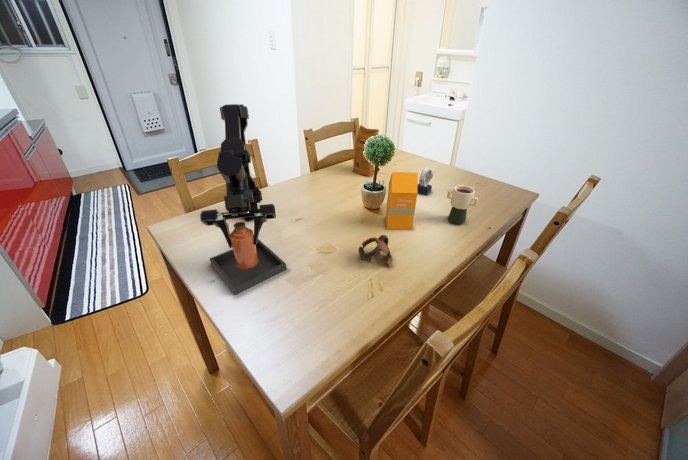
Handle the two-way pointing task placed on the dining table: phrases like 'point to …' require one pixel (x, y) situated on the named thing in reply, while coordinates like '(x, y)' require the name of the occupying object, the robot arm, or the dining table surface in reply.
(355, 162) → the coffee package
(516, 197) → the dining table surface
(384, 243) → the brown looped piece
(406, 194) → the orange juice
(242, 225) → the bottle
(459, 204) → the character mug
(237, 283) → the tray
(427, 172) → the stone sculpture
